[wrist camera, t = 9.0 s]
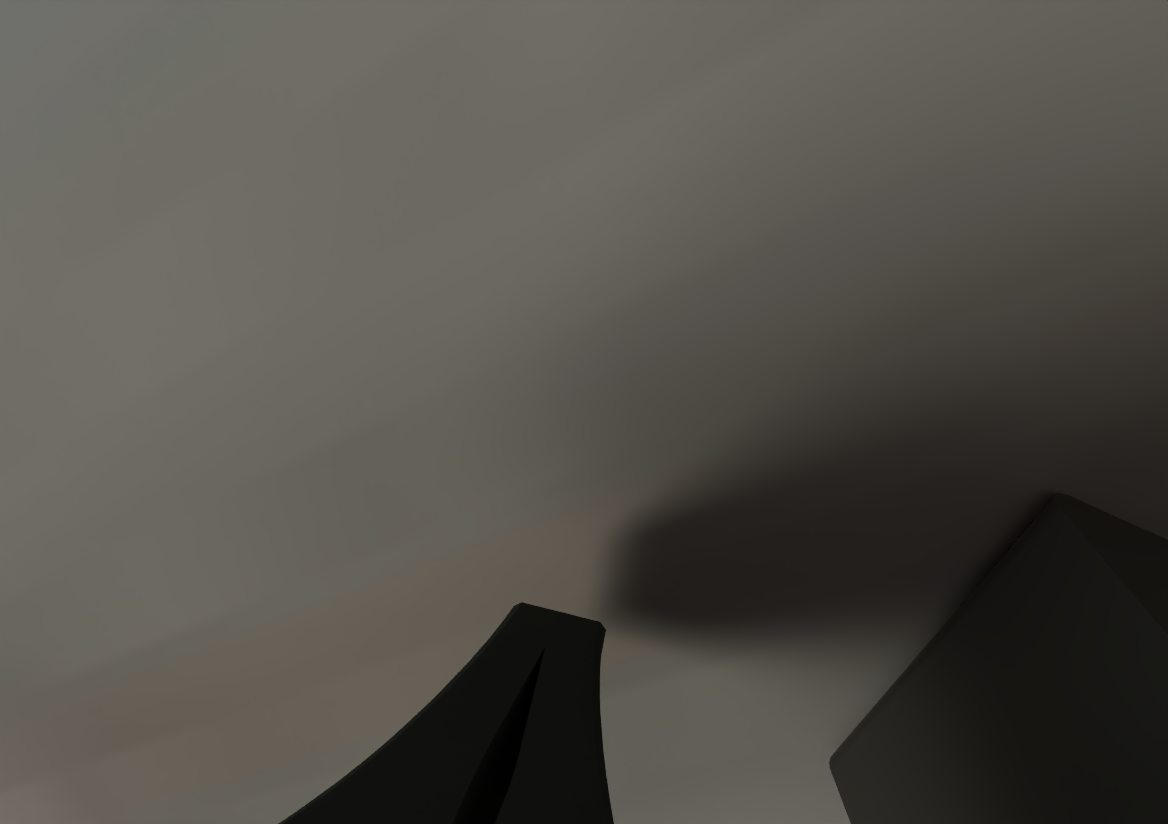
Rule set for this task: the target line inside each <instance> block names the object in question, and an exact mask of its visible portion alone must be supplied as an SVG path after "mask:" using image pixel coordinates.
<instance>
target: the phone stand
mask: <svg viewBox="0 0 1168 824" xmlns="http://www.w3.org/2000/svg"><path fill="white" fill-rule="evenodd" d="M829 764H830V769H831V772H832V775H833V777H834V780H835V783H836V785H837V788H838V791H839V793H840V796H841V798H842V801H843V804H844V806H845V809H846V812H847V814H848V817H849V820H850V822H851V824H1168V540H1166V539H1164V538H1162V537H1159V536H1157V535H1155V534H1153V533H1150V532H1148V531H1146V530H1144V529H1142V528H1139V527H1137V526H1135V525H1133V524H1130V523H1128V522H1126V521H1124V520H1121V519H1119V518H1117V517H1115V516H1113V515H1110V514H1108V513H1106V512H1104V511H1101V510H1099V509H1097V508H1095V507H1093V506H1090V505H1088V504H1086V503H1084V502H1081V501H1079V500H1077V499H1075V498H1072V497H1070V496H1067V495H1063V494H1057V495H1055V497H1054V498H1053V499H1052V500H1051V501H1050V502H1049V504H1048V505H1047V506H1046V507H1045V508H1044V509H1043V511H1042V512H1041V513H1040V514H1039V515H1038V516H1037V518H1036V519H1035V520H1034V521H1033V522H1032V523H1031V525H1030V526H1029V527H1028V528H1027V529H1026V530H1025V532H1024V533H1023V534H1022V535H1021V536H1020V537H1019V539H1018V540H1017V541H1016V542H1015V543H1014V544H1013V545H1012V547H1011V548H1010V549H1009V550H1008V551H1007V552H1006V554H1005V555H1004V556H1003V557H1002V558H1001V559H1000V561H999V562H998V563H997V564H996V565H995V566H994V568H993V569H992V570H991V571H990V572H989V573H988V575H987V576H986V577H985V578H984V579H983V580H982V582H981V583H980V584H979V585H978V586H977V587H976V589H975V590H974V591H973V592H972V593H971V594H970V596H969V597H968V598H967V599H966V600H965V601H964V603H963V604H962V605H961V606H960V607H959V608H958V610H957V611H956V612H955V613H954V614H953V615H952V617H951V618H950V619H949V620H948V621H947V622H946V624H945V625H944V626H943V627H942V628H941V629H940V630H939V632H938V633H937V634H936V635H935V636H934V637H933V639H932V640H931V641H930V642H929V643H928V644H927V646H926V647H925V648H924V649H923V650H922V651H921V653H920V654H919V655H918V656H917V657H916V658H915V660H914V661H913V662H912V663H911V664H910V665H909V667H908V668H907V669H906V670H905V671H904V672H903V674H902V675H901V676H900V677H899V678H898V679H897V681H896V682H895V683H894V684H893V685H892V686H891V688H890V689H889V690H888V691H887V692H886V693H885V695H884V696H883V697H882V698H881V699H880V700H879V702H878V703H877V704H876V705H875V706H874V707H873V709H872V710H871V711H870V712H869V713H868V714H867V715H866V717H865V718H864V719H863V720H862V721H861V722H860V724H859V725H858V726H857V727H856V728H855V729H854V731H853V732H852V733H851V734H850V735H849V736H848V738H847V739H846V740H845V741H844V742H843V743H842V745H841V746H840V747H839V748H838V749H837V750H836V752H835V753H834V754H833V755H832V756H831V758H830V762H829Z"/></svg>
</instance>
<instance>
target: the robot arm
mask: <svg viewBox="0 0 1168 824" xmlns="http://www.w3.org/2000/svg"><path fill="white" fill-rule="evenodd" d="M605 632H606V629H605V628H604V627H603V625H602V624H601V623H600V622H598V621H594V620H590V619H586V618H582V617H578V616H574V615H570V614H566V613H562V612H558V611H554V610H550V609H546V608H542V607H538V606H534V605H530V604H526V603H522V602H521V603H519V604H517V605H515V606H514V607H513V608H512V609H511V611H510V612H509V614H508V615H507V617H506V618H505V619H504V621H503V622H502V623H501V624H500V626H499V627H498V628H497V630H496V631H495V632H494V633H493V634H492V636H491V637H490V638H489V639H488V640H487V642H486V643H485V644H484V645H483V646H482V647H481V649H480V650H479V651H478V652H477V653H476V654H475V655H474V657H473V658H472V659H471V660H470V661H469V662H468V663H467V664H466V665H465V666H464V668H463V669H462V670H461V671H460V672H459V673H458V674H457V675H456V676H455V677H454V678H453V679H452V680H451V681H450V682H449V683H448V684H447V685H446V686H445V687H444V688H443V689H442V691H441V692H440V693H439V694H438V695H437V696H436V697H435V698H434V699H433V700H432V701H431V702H430V703H428V704H427V705H426V706H425V707H424V708H423V709H422V710H421V711H420V712H419V713H418V714H417V715H416V716H414V717H413V718H412V719H411V720H410V721H409V722H408V723H407V724H406V725H405V726H404V727H403V728H402V729H400V730H399V731H398V732H397V733H396V734H395V735H394V736H393V737H392V738H391V739H389V740H388V741H387V742H386V743H385V744H384V745H382V746H381V747H380V748H379V749H378V750H377V751H375V752H374V753H373V754H372V755H371V756H369V757H368V758H367V759H366V760H365V761H363V762H362V763H361V764H360V765H358V766H357V767H356V768H355V769H353V770H352V771H351V772H349V773H348V774H347V775H346V776H344V777H343V778H342V779H341V780H339V781H338V782H337V783H335V784H334V785H333V786H331V787H330V788H329V789H327V790H326V791H324V792H323V793H322V794H320V795H319V796H317V797H316V798H315V799H313V800H312V801H311V802H309V803H308V804H306V805H305V806H304V807H302V808H301V809H299V810H298V811H297V812H295V813H294V814H292V815H291V816H289V817H288V818H286V819H285V820H283V821H282V822H281V823H279V824H614V822H613V816H612V810H611V804H610V798H609V791H608V784H607V777H606V770H605V761H604V753H603V741H602V728H601V716H600V662H601V653H602V648H603V643H604V638H605Z"/></svg>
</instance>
